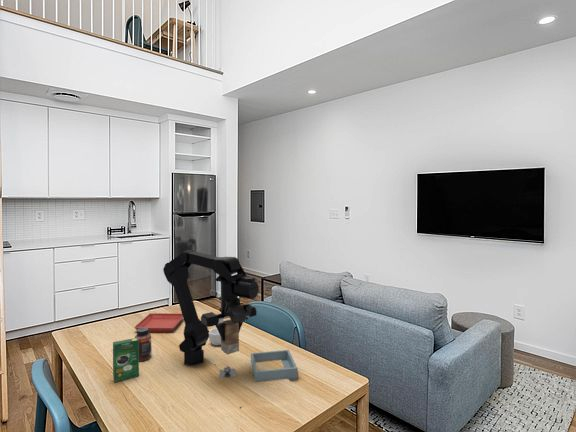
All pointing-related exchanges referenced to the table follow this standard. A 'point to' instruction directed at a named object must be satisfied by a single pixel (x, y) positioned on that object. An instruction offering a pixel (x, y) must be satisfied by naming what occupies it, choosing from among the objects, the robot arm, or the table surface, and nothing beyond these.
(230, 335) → the strut
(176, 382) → the table surface
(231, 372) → the knob on square plate
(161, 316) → the plant saucer
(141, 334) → the supplement bottle
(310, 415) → the table surface
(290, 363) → the bin
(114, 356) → the coffee box
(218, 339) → the teacup
